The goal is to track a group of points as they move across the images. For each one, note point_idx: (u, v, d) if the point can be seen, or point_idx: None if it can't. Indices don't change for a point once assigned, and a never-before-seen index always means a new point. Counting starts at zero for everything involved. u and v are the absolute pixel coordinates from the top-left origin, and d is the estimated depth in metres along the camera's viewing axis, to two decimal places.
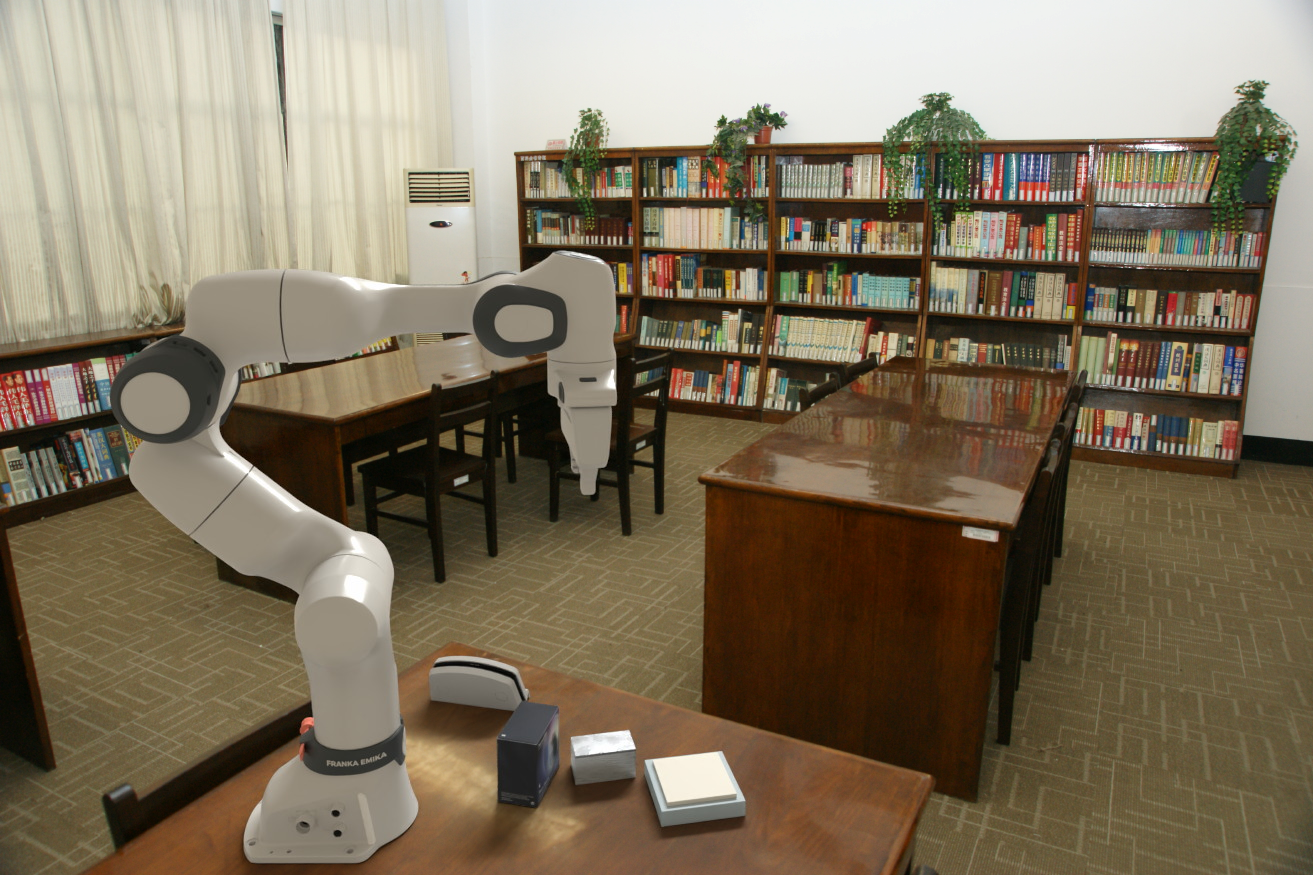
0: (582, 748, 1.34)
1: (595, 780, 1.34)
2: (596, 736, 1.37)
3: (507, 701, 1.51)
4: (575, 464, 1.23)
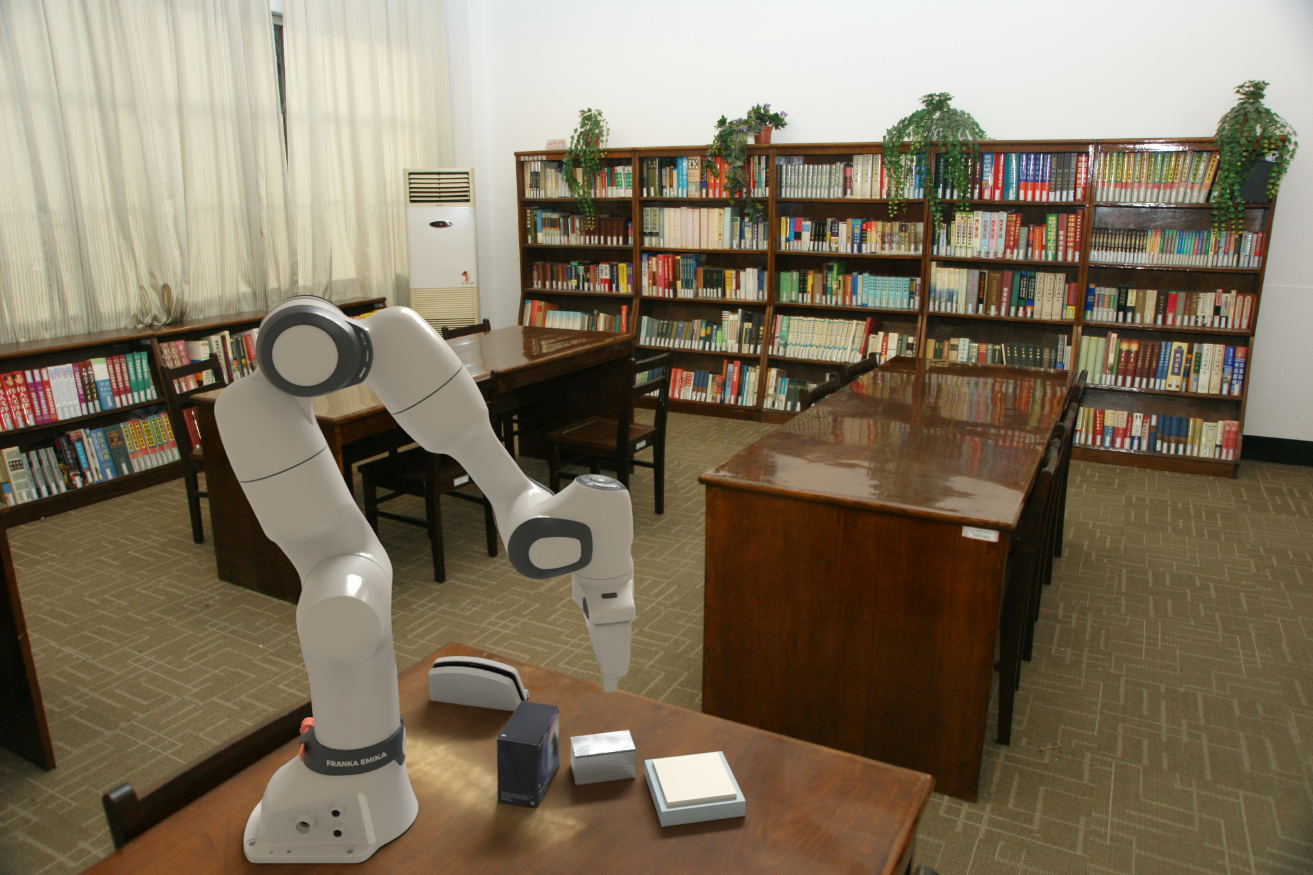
0: (582, 748, 1.34)
1: (595, 780, 1.34)
2: (596, 736, 1.37)
3: (507, 702, 1.51)
4: None
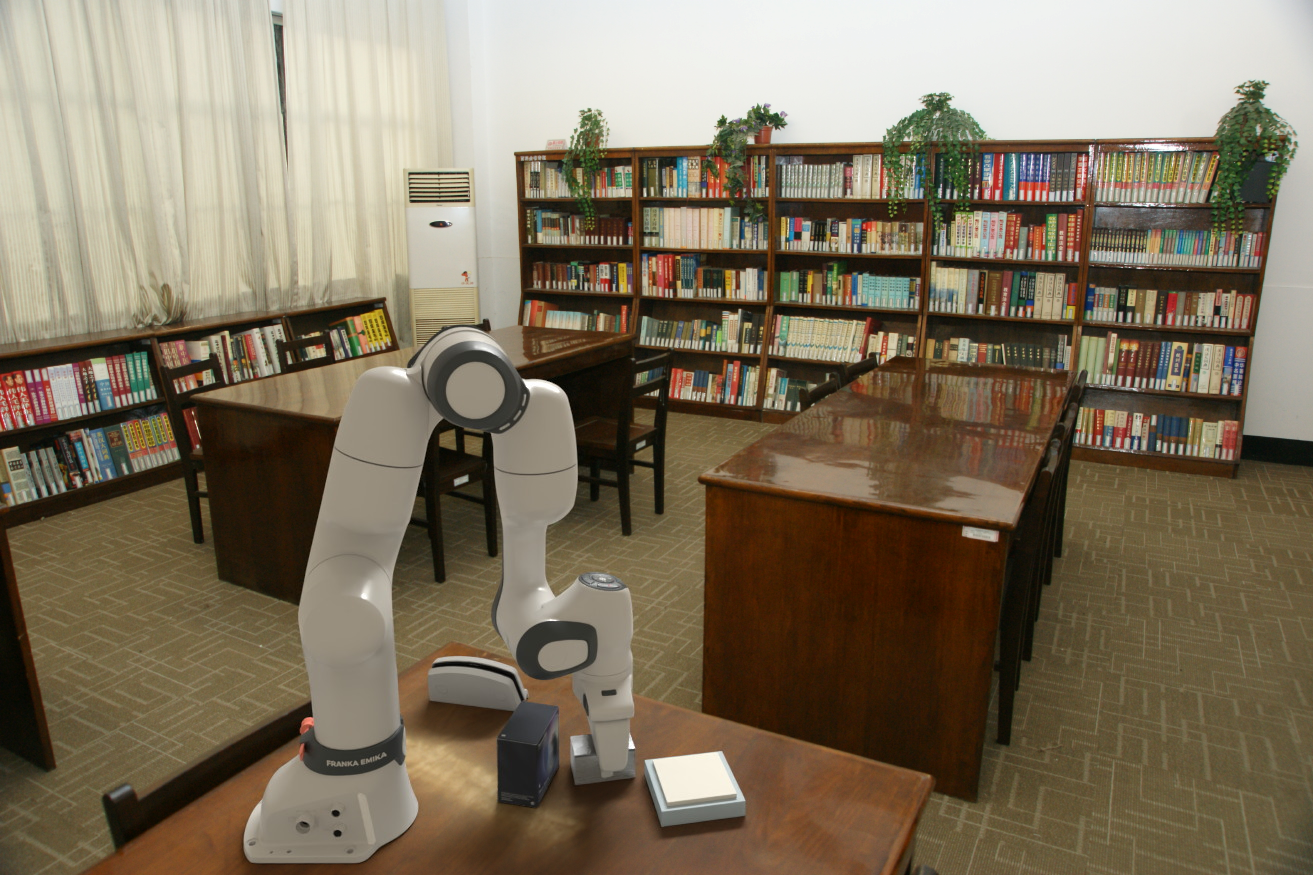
0: (581, 747, 1.34)
1: (594, 779, 1.34)
2: None
3: (506, 701, 1.51)
4: None
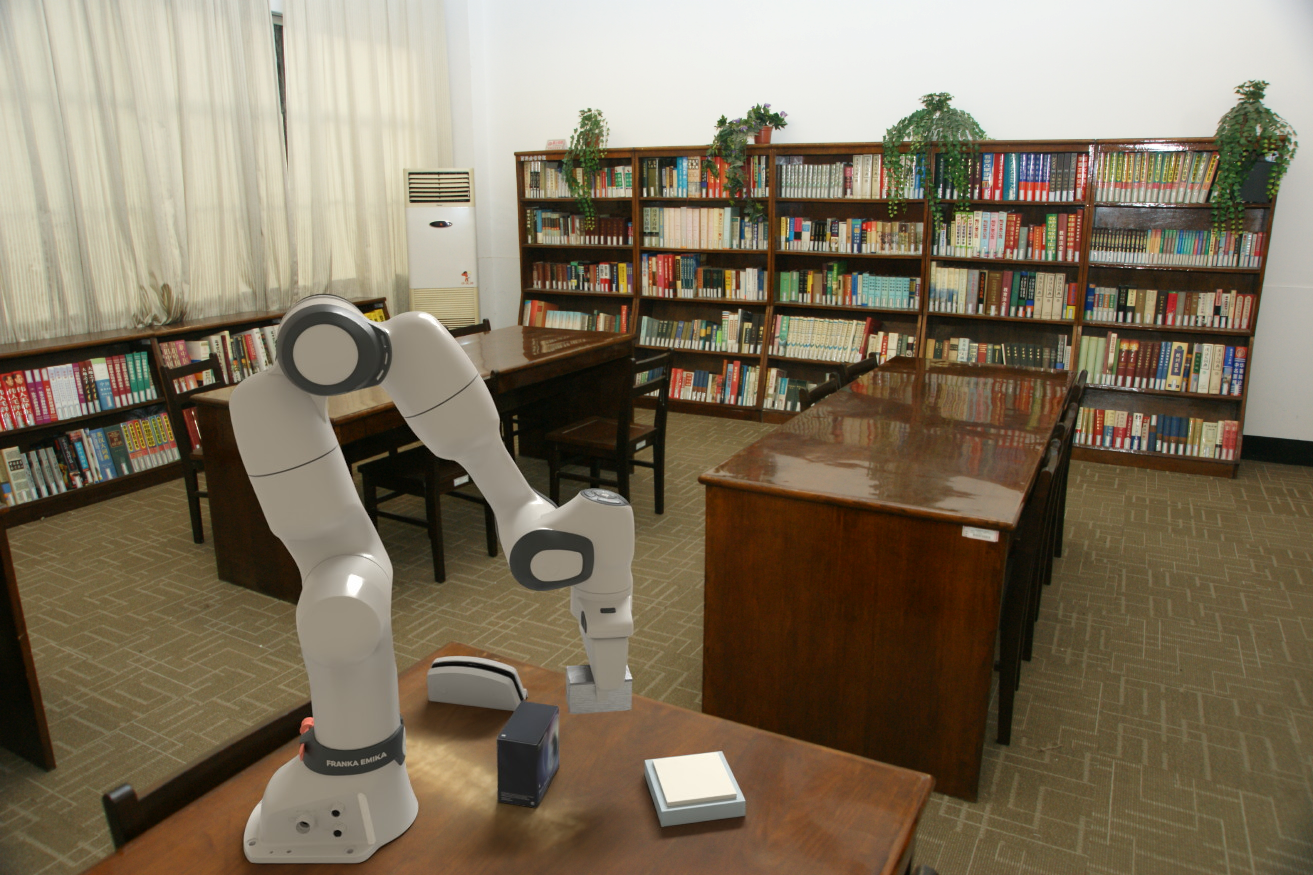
0: (577, 676, 1.31)
1: (590, 709, 1.30)
2: None
3: (506, 701, 1.51)
4: None
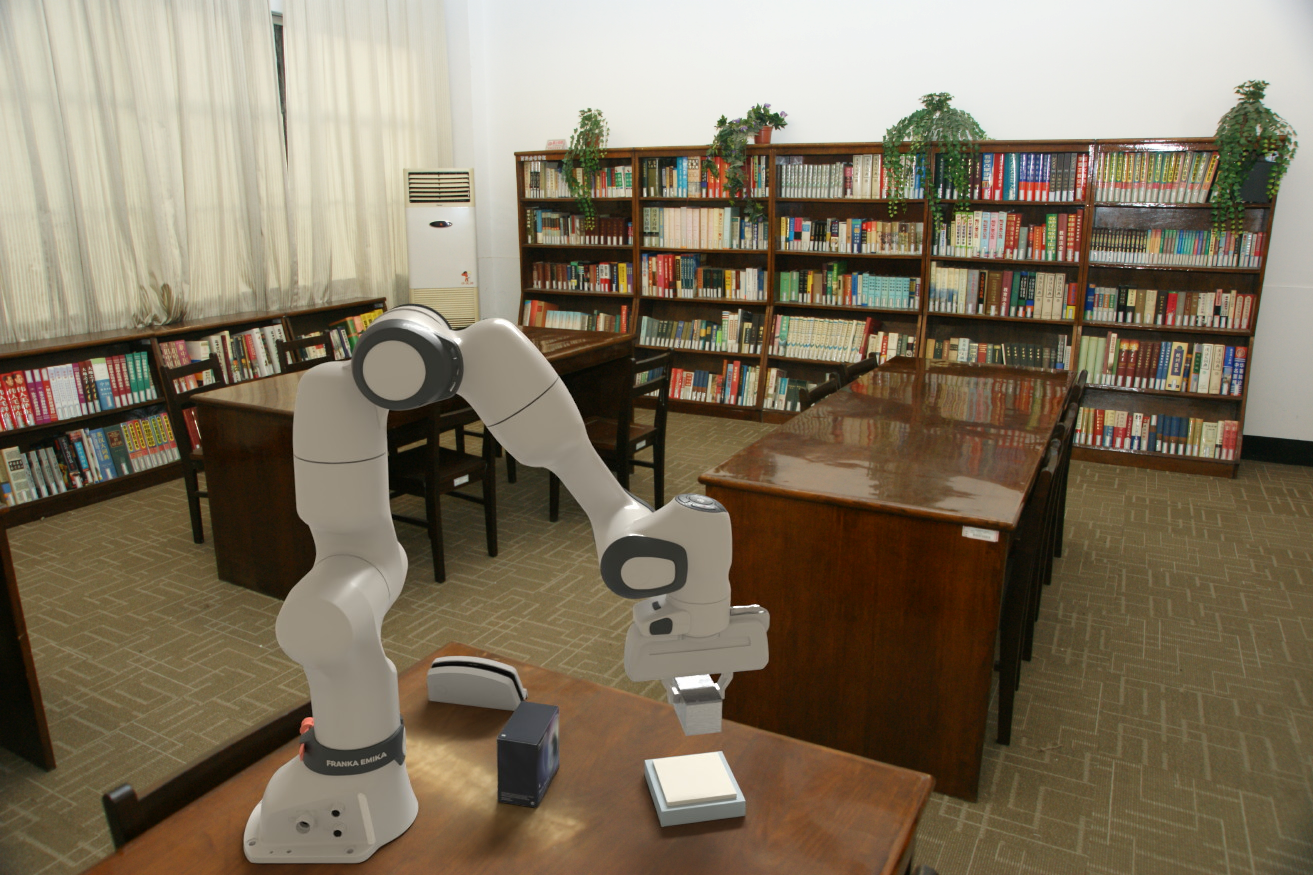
0: None
1: (675, 709, 1.29)
2: (707, 680, 1.28)
3: (506, 701, 1.51)
4: None
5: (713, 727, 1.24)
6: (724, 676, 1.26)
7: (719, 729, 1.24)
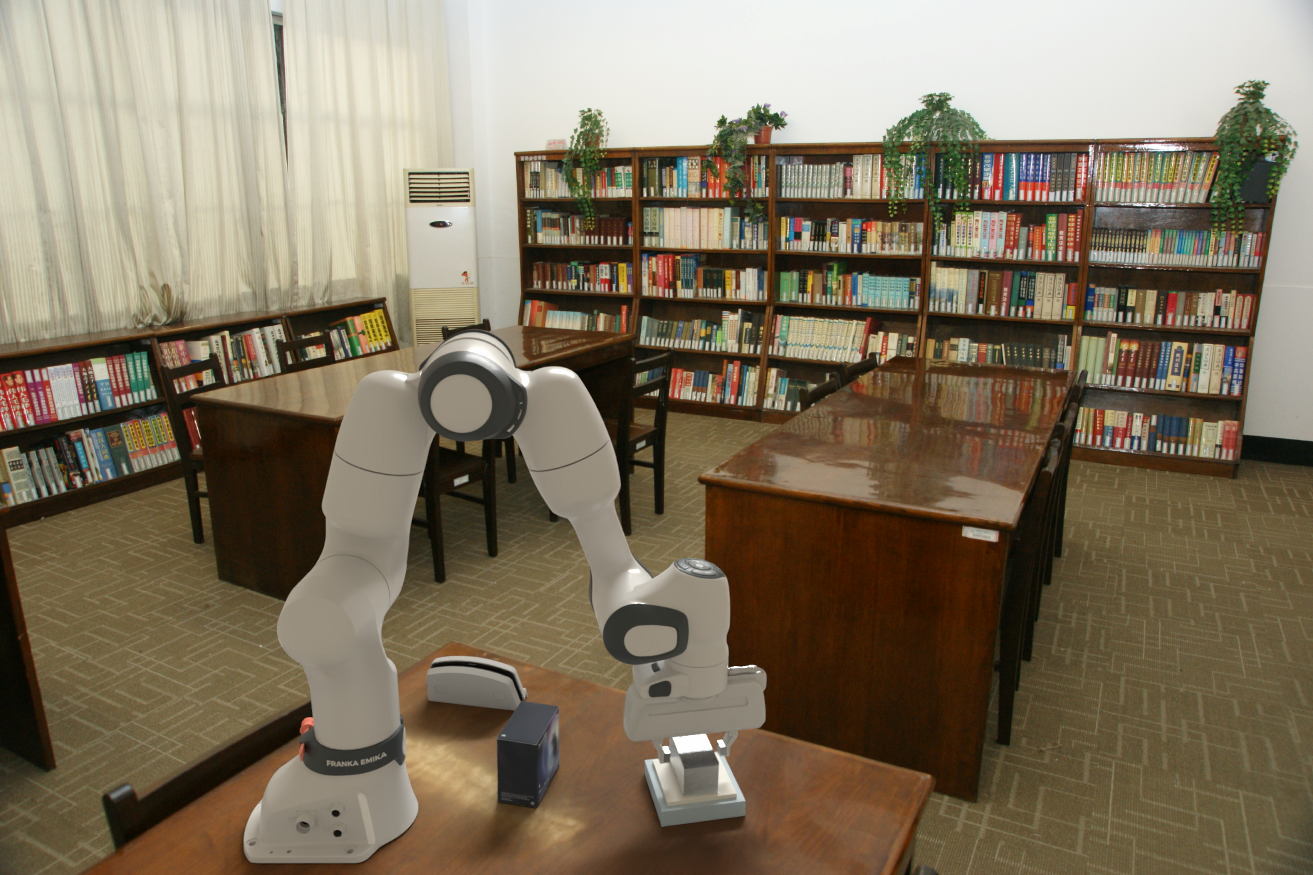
0: None
1: (673, 768, 1.31)
2: (704, 741, 1.30)
3: (506, 701, 1.51)
4: (717, 744, 1.31)
5: (710, 789, 1.26)
6: (729, 734, 1.29)
7: (716, 791, 1.27)
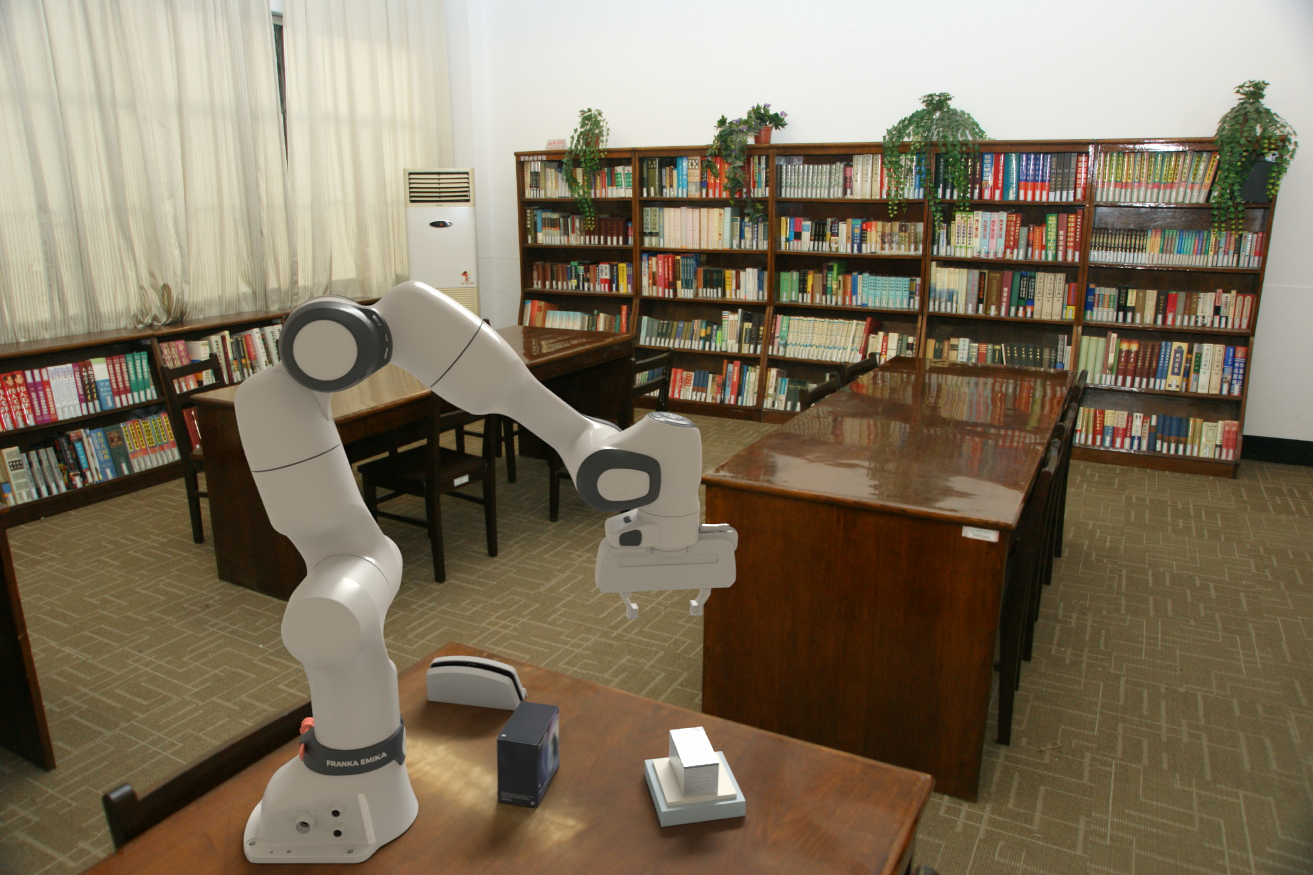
0: (682, 733, 1.32)
1: (673, 768, 1.31)
2: (704, 741, 1.30)
3: (505, 700, 1.51)
4: (690, 604, 1.32)
5: (710, 789, 1.26)
6: (702, 592, 1.30)
7: (716, 791, 1.27)
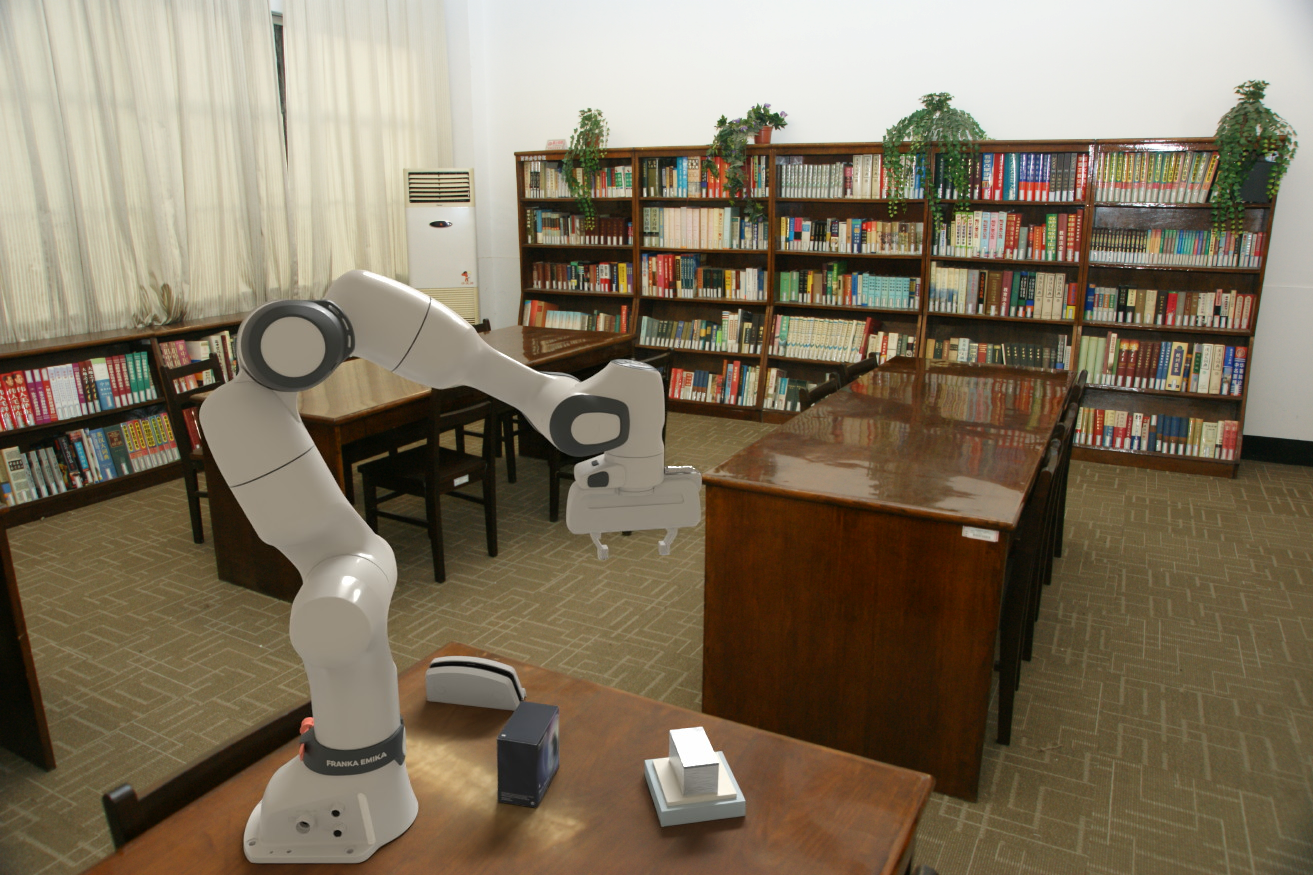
0: (682, 733, 1.32)
1: (673, 768, 1.31)
2: (704, 741, 1.30)
3: (505, 701, 1.51)
4: None
5: (710, 789, 1.26)
6: (669, 532, 1.36)
7: (716, 791, 1.27)
